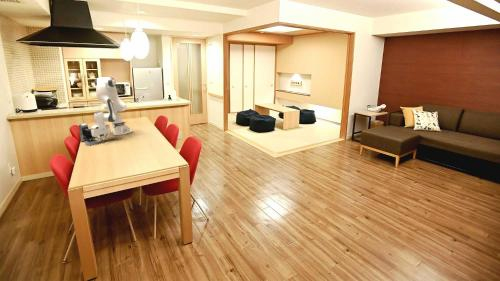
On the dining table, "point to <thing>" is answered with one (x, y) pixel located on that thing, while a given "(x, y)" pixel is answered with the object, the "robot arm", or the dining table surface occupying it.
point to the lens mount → (91, 142)
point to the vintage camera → (85, 132)
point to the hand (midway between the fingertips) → (102, 138)
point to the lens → (102, 138)
